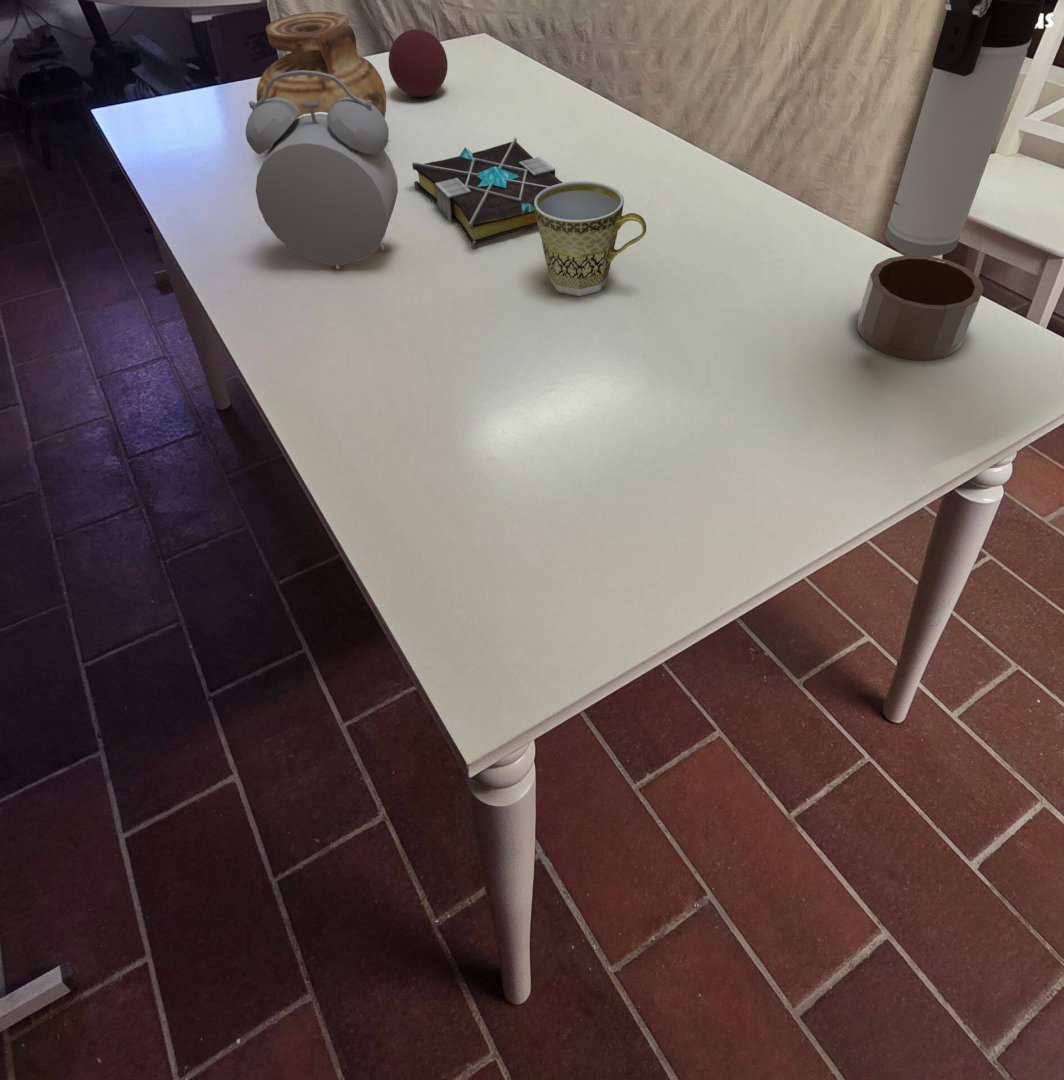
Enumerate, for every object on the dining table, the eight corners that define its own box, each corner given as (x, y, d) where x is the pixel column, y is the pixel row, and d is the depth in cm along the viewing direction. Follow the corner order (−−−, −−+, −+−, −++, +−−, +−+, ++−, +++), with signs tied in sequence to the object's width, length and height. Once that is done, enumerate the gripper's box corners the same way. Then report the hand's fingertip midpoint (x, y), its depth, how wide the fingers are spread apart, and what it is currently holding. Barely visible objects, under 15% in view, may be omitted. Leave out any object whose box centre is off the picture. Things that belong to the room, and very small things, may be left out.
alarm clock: (413, 243, 107) (385, 55, 91) (400, 277, 101) (368, 83, 85) (290, 242, 109) (241, 57, 93) (271, 276, 103) (215, 84, 87)
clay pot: (229, 149, 123) (226, -9, 114) (314, 154, 138) (317, 15, 129) (329, 169, 116) (334, 3, 107) (407, 173, 131) (417, 27, 122)
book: (589, 219, 110) (589, 182, 106) (473, 251, 105) (469, 213, 101) (518, 161, 123) (516, 126, 120) (412, 187, 119) (407, 151, 115)
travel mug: (866, 235, 77) (937, -18, 62) (921, 219, 79) (1001, -31, 64) (915, 264, 73) (1003, 1, 58) (971, 247, 75) (1069, -13, 60)
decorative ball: (454, 102, 141) (448, 36, 134) (396, 108, 140) (386, 42, 133) (446, 82, 148) (439, 18, 141) (390, 88, 147) (381, 24, 139)
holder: (983, 334, 88) (1004, 284, 84) (921, 372, 84) (940, 321, 80) (898, 294, 95) (913, 244, 90) (836, 328, 90) (849, 277, 86)
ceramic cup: (523, 294, 98) (519, 212, 90) (556, 255, 104) (555, 175, 96) (627, 315, 94) (631, 231, 86) (655, 273, 100) (661, 191, 92)
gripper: (1064, -242, 46) (957, 101, 59) (1208, -266, 53) (1083, 45, 66) (945, -246, 50) (869, 75, 63) (1093, -268, 57) (997, 25, 70)
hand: (979, 57), depth 65 cm, fingers closed on travel mug, 6 cm apart
